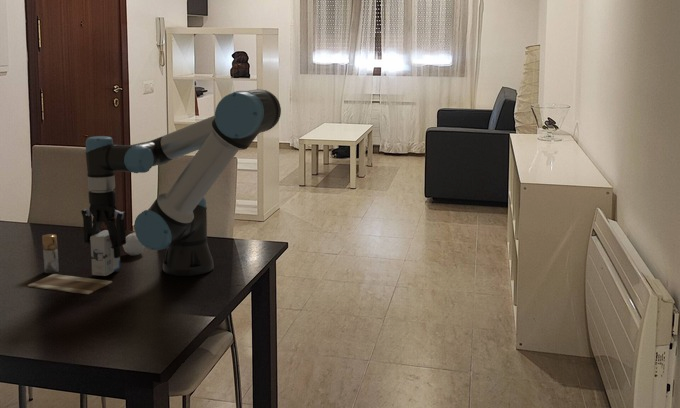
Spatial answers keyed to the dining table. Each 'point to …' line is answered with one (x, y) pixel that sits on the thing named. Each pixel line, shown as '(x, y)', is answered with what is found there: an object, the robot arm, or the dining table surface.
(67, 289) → the panel
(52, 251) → the brown grey rounded cylinder
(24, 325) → the dining table surface
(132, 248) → the ornament
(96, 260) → the ink box
